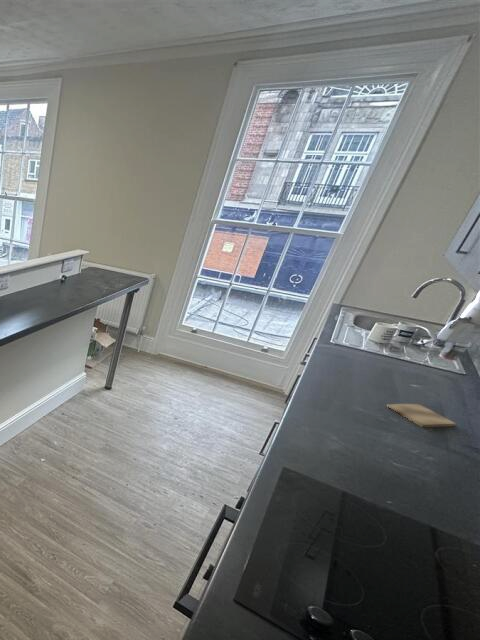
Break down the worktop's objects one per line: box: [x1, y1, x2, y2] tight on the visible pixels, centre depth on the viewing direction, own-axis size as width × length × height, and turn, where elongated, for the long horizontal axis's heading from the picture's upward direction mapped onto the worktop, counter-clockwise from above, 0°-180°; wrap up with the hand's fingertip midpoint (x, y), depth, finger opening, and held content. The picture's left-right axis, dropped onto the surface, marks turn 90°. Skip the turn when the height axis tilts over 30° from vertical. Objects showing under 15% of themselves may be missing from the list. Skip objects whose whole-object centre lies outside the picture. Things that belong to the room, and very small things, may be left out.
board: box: [386, 403, 457, 428], centre depth 141 cm, size 12×14×1 cm
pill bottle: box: [439, 340, 471, 362], centre depth 150 cm, size 5×5×8 cm
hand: (452, 351), depth 151 cm, fingers closed on pill bottle, 5 cm apart
